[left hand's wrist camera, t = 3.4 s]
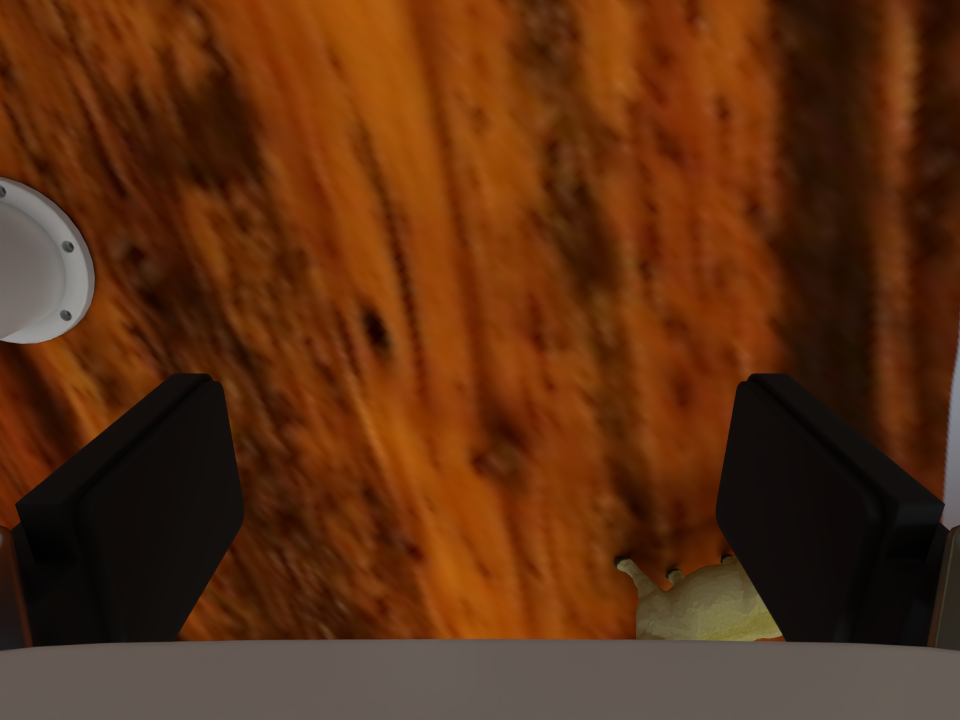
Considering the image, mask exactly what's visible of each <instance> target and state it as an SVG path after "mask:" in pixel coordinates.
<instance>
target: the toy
mask: <svg viewBox="0 0 960 720" xmlns="http://www.w3.org/2000/svg"><path fill="white" fill-rule="evenodd" d="M721 563H722V564H720V565H711V566H705V567H702V568H700V569H698V570H696V571H695V572H693V573H690V574H689V575H687V576H686V577H684V575H683V574H682V571H681V569H670V570H669V571H668V572H667V573H666V576H665V577H666V578H667V579H669V580H670V581H671V582H672V583H673V585H674V586H673V587H672V588H671V589H669V590H668V591H663V590H662V589H661V588H660V587H659V586H657V584H656V583H655V582H653V581H652V580H650V578H649V577H648V576H647V575H645V574H644V573H643V572H642V571H641V570H640V569H639V568H638V567H637V566H636V564H635V563H634V562H633V561H632V560H631V559H629V558H626V557H621V558H618V559H616V560H615V562H614V565H615V566H616V567H617V568H618V569H619V570H621V571H624V572H626V573H628V574H629V575H630V576H631V577H632V578H633V580H634V583H635V585H636V586H637V588H638V597H639V602H638V605H637V610H636V622H637V625H636V634H637V640H712V641H754V640H756V639H759V638H774V637H779V636H781V635H782V633H781V631H780V630H779V628H778V626H777V625H776V623H775V621H774V620H773V618H772V616H771V614H770V613H769V611H768V609H767V608H766V606H765V604H764V603H763V601H762V599H761V597H760V596H759V594H758V592H757V591H756V589H755V587H754V586H753V584H752V582H751V580H750V579H749V577H748V575H747V574H746V572H745V570H744V569H743V567H742V565H741V563H740V562H739V560H738V558H737V557H735V556H734V555H730V554H725V555H722V557H721Z"/></svg>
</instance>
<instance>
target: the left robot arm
mask: <svg viewBox="0 0 960 720" xmlns="http://www.w3.org/2000/svg"><path fill="white" fill-rule="evenodd" d="M94 284H95V275H94V268H93V262H92V259H91V256H90V253H89V250H88V247H87V245H86V243H85V241H84V239H83V237H82V236H81V234H80V232H79V230H78V229H77V228H76V226H75V225H74V224H73V222H72V221H71V220H70V218H69V217H68V216H67V215H66V214H65V213H64V212H63V211H62V210H61V209H60V208H59V207H58V206H57V205H56V204H55V203H54V202H52V201H51V200H49V199H48V198H47V197H45V196H44V195H42V194H41V193H40V192H38V191H36V190H34V189H32V188H30V187H28V186H26V185H24V184H22V183H20V182H17V181H13V180H10V179H7V178H4V177H0V340H3V341H6V342H13V343H22V344H24V343H38V342H42V341H46V340H50V339H53V338H55V337H57V336H59V335H61V334H63V333H65V332H67V331H68V330H70V329H71V328H73V327H74V326H76V325H77V323H78V322H79V321H80V320H81V319H82V318H83V317H84V316H85V314H86V312H87V310H88V308H89V307H90V305H91V301H92V298H93V294H94ZM15 506H16V509H17V512H18V514H19V517H20V520H21V522H20V523H19V524H18V525H17V526H15V527H14V528H13V529H12V530H11V531H10V530H9V529H8V528H7V527H4V526H1V525H0V720H960V525H959V526H956V527H953V528H952V529H951V530H950V531H949V530H948V529H947V528H946V527H945V526H943V525H942V524H941V523H940V522H939V520H940V517H941V514H942V512H943V509H944V506H945V504H944V503H943V502H942V501H940V500H939V499H938V498H937V497H936V496H934V495H933V494H932V493H931V492H930V491H928V490H927V489H926V488H925V487H924V486H922V485H921V484H920V483H919V482H917V481H916V480H915V479H914V478H913V477H911V476H910V475H909V474H908V473H907V472H905V471H904V470H903V469H902V468H900V467H899V466H898V465H897V464H896V463H894V462H893V461H892V460H891V459H890V458H888V457H887V456H886V455H885V454H884V453H882V452H881V451H880V450H879V449H877V448H876V447H875V446H874V445H873V444H871V443H870V442H869V441H868V440H867V439H865V438H864V437H863V436H862V435H860V434H859V433H858V432H857V431H856V430H854V429H853V428H852V427H851V426H850V425H848V424H847V423H846V422H845V421H844V420H842V419H841V418H840V417H839V416H837V415H836V414H835V413H834V412H833V411H831V410H830V409H829V408H828V407H827V406H825V405H824V404H823V403H822V402H820V401H819V400H818V399H817V398H816V397H814V396H813V395H812V394H811V393H810V392H808V391H807V390H806V389H805V388H803V387H802V386H801V385H800V384H799V383H797V382H796V381H795V380H794V379H793V378H791V377H790V376H789V375H787V374H751V375H750V376H749V378H748V380H747V381H743V382H740V383H739V385H738V387H737V390H736V395H735V401H734V407H733V412H732V418H731V424H730V429H729V435H728V441H727V446H726V452H725V458H724V463H723V469H722V475H721V480H720V486H719V492H718V497H717V503H716V518H717V523H718V525H719V528H720V529H721V531H722V533H723V535H724V536H725V538H726V540H727V541H728V543H729V545H730V546H731V548H732V550H733V552H734V553H735V555H736V557H737V558H738V560H739V562H740V563H741V565H742V567H743V569H744V570H745V572H746V574H747V575H748V577H749V579H750V580H751V582H752V584H753V586H754V587H755V589H756V591H757V592H758V594H759V596H760V597H761V599H762V601H763V603H764V604H765V606H766V608H767V609H768V611H769V613H770V614H771V616H772V618H773V620H774V621H775V623H776V625H777V626H778V628H779V630H780V631H781V633H782V635H783V637H784V638H785V640H786V642H765V641H712V640H550V639H410V640H248V641H195V642H174V640H175V638H176V637H177V635H178V633H179V631H180V630H181V628H182V626H183V625H184V623H185V621H186V620H187V618H188V616H189V614H190V613H191V611H192V609H193V608H194V606H195V604H196V603H197V601H198V599H199V597H200V596H201V594H202V592H203V591H204V589H205V587H206V586H207V584H208V582H209V580H210V579H211V577H212V575H213V574H214V572H215V570H216V569H217V567H218V565H219V563H220V562H221V560H222V558H223V557H224V555H225V553H226V552H227V550H228V548H229V546H230V545H231V543H232V541H233V540H234V538H235V536H236V535H237V533H238V531H239V529H240V528H241V525H242V523H243V518H244V503H243V497H242V492H241V486H240V480H239V475H238V469H237V463H236V458H235V452H234V446H233V441H232V435H231V429H230V424H229V418H228V412H227V407H226V401H225V395H224V390H223V387H222V385H221V383H220V382H217V381H213V380H212V378H211V376H210V375H209V374H173V375H171V376H170V377H169V378H167V379H166V380H165V381H164V382H163V383H161V384H160V385H159V386H158V387H156V388H155V389H154V390H153V391H152V392H150V393H149V394H148V395H147V396H146V397H144V398H143V399H142V400H141V401H140V402H138V403H137V404H136V405H135V406H133V407H132V408H131V409H130V410H129V411H127V412H126V413H125V414H124V415H123V416H121V417H120V418H119V419H118V420H116V421H115V422H114V423H113V424H112V425H110V426H109V427H108V428H107V429H106V430H104V431H103V432H102V433H101V434H100V435H98V436H97V437H96V438H95V439H93V440H92V441H91V442H90V443H89V444H87V445H86V446H85V447H84V448H83V449H81V450H80V451H79V452H78V453H76V454H75V455H74V456H73V457H72V458H70V459H69V460H68V461H67V462H66V463H64V464H63V465H62V466H61V467H60V468H58V469H57V470H56V471H55V472H53V473H52V474H51V475H50V476H49V477H47V478H46V479H45V480H44V481H43V482H41V483H40V484H39V485H38V486H36V487H35V488H34V489H33V490H32V491H30V492H29V493H28V494H27V495H26V496H24V497H23V498H22V499H21V500H20V501H18V502H17V503H16V504H15Z"/></svg>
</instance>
